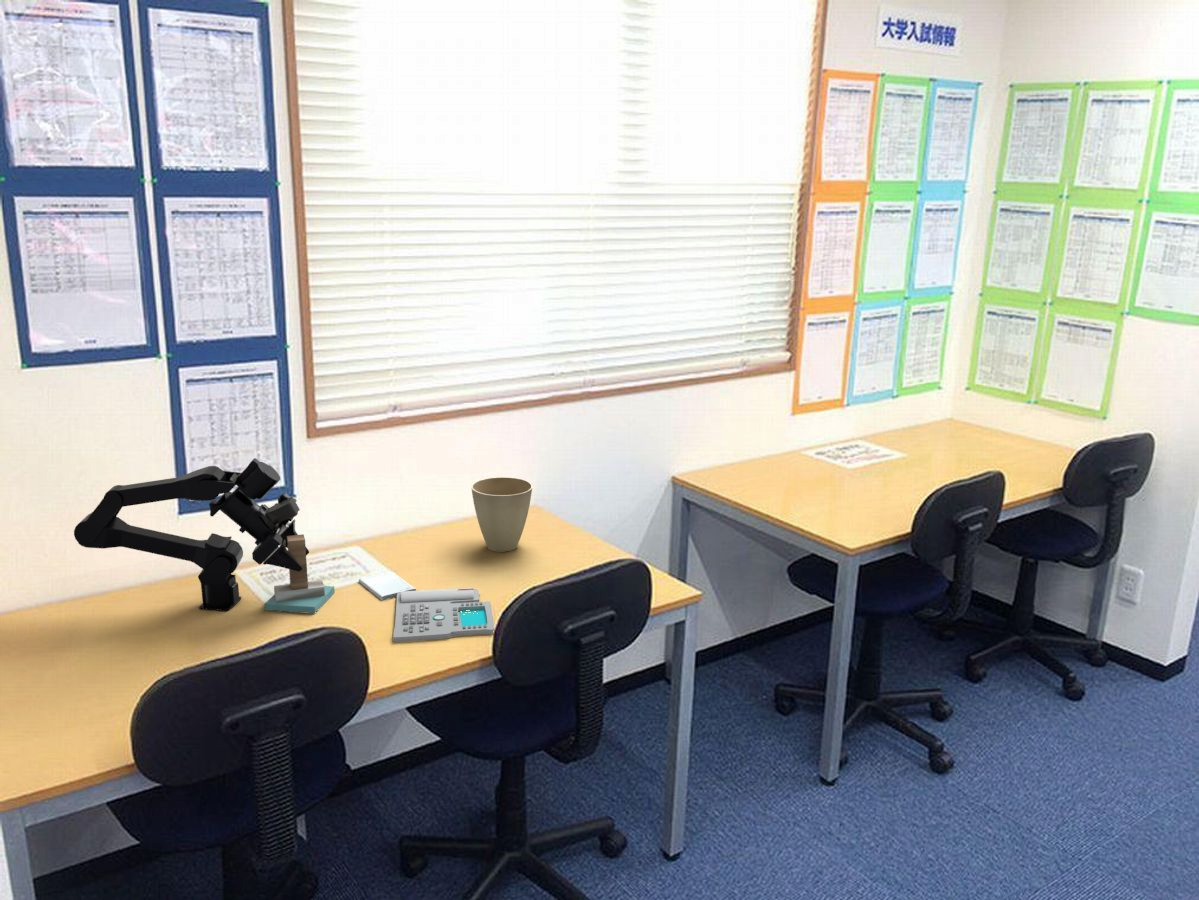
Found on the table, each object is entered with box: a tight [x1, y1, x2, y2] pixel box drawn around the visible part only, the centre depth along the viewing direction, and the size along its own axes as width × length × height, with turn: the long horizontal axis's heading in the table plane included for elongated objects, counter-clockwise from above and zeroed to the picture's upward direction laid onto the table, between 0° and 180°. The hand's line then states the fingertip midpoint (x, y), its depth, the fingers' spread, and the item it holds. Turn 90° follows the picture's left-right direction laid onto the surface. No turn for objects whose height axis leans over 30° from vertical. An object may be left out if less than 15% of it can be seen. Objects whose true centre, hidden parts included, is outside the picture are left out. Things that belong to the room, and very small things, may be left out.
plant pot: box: [470, 476, 533, 553], centre depth 245 cm, size 15×15×16 cm
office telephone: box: [392, 587, 495, 643], centre depth 208 cm, size 23×3×20 cm
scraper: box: [273, 534, 325, 602], centre depth 211 cm, size 4×10×13 cm, turn 111°
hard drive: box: [358, 571, 417, 601], centre depth 222 cm, size 2×8×12 cm
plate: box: [264, 585, 335, 614], centre depth 213 cm, size 11×11×2 cm
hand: (304, 561), depth 211 cm, fingers open, 9 cm apart
